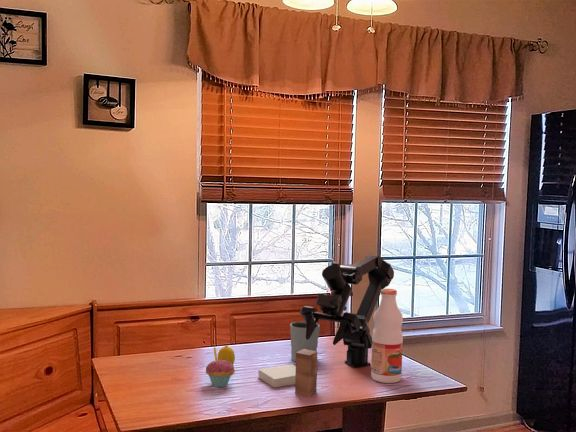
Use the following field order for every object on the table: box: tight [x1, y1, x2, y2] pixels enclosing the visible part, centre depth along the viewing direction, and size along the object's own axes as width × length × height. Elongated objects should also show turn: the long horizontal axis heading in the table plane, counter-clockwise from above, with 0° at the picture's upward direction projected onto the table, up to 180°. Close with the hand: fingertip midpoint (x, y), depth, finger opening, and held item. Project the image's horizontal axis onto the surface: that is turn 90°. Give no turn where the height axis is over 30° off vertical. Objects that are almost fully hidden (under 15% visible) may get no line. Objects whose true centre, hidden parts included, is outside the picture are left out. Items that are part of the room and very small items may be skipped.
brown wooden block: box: [294, 349, 318, 398], centre depth 168 cm, size 4×4×12 cm
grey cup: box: [289, 320, 321, 362], centre depth 201 cm, size 10×10×12 cm
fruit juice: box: [370, 288, 404, 384], centre depth 182 cm, size 9×9×28 cm
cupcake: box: [205, 345, 236, 388], centre depth 174 cm, size 9×8×12 cm
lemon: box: [217, 345, 236, 365], centre depth 187 cm, size 6×6×8 cm
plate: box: [258, 363, 296, 388], centre depth 180 cm, size 12×10×2 cm
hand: (320, 341), depth 174 cm, fingers open, 9 cm apart
